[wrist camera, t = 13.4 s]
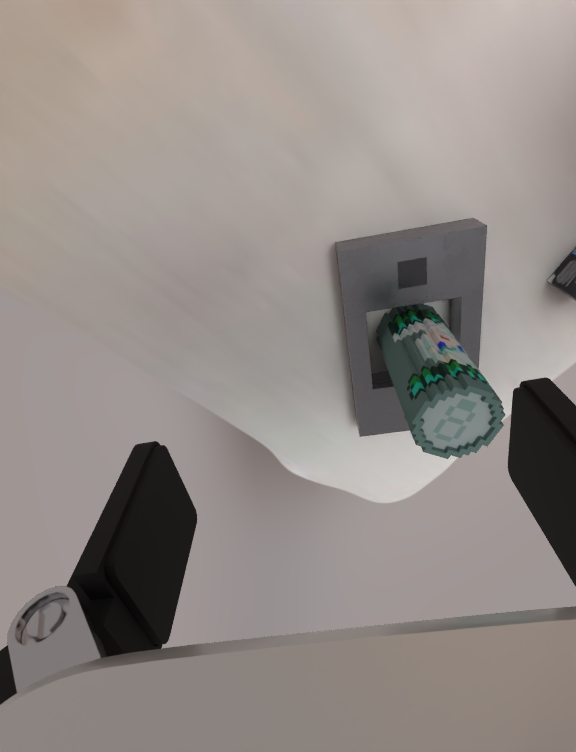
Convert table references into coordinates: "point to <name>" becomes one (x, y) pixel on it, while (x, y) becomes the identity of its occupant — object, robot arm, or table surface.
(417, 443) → the can
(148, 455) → the robot arm
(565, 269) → the label tape cartridge
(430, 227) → the rail plate
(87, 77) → the table surface
